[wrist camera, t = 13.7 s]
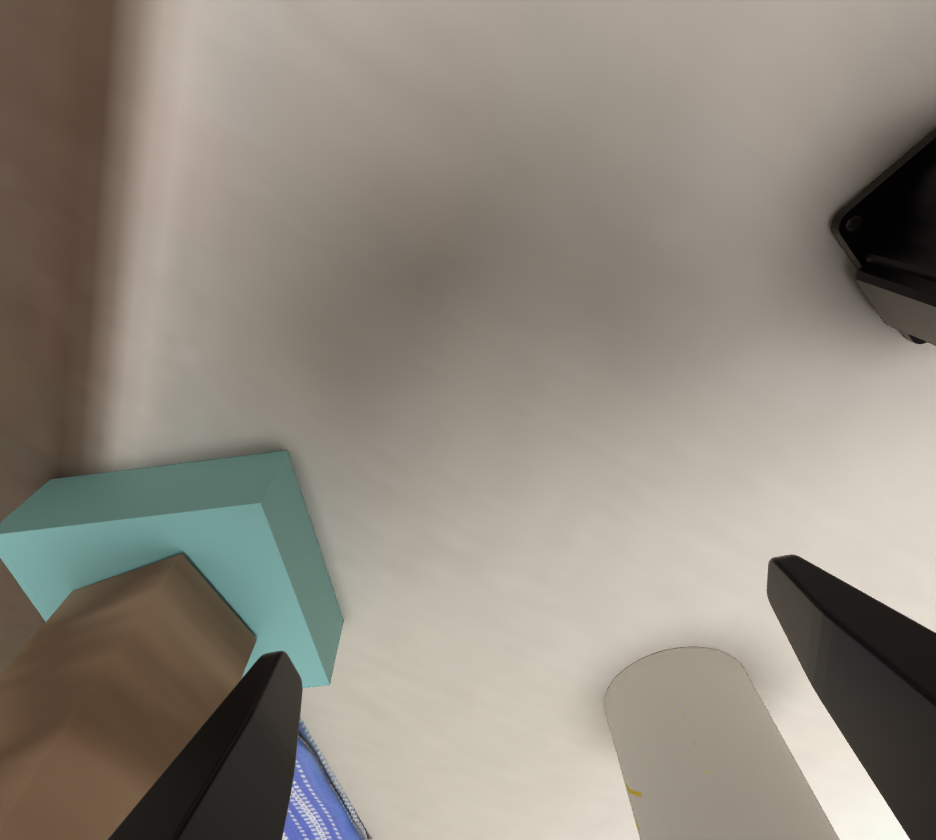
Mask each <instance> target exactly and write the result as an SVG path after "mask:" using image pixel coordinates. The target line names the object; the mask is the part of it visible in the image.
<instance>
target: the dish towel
mask: <svg viewBox="0 0 936 840" xmlns="http://www.w3.org/2000/svg"><path fill="white" fill-rule="evenodd" d="M282 840H368V838H367V834H366V831H365V828H364V826H363V824H362V823H361V821H360V819H359V818H358V816H357V814H356V812H355V810H354V807H353V806H352V803H351V802H350V800H349V798H348V797H347V794H346V793H345V791H344V790H343V788H342V786H341V785H340V783H339V782H338V780H337V778H336V776H335V774H334V773H333V771H332V769H331V768H330V766H329V764H328V762H327V760H326V759H325V757H324V756H323V753H322V752H321V750H320V749H319V747H318V746H317V744H316V742H315V741H314V739H313V738H312V736H311V734H310V733H309V731H308V730H307V728H306V726H305V725H304V723H303V721H302V720H301V718H300V722H299V733H298V743H297V754H296V764H295V772H294V779H293V785H292V791H291V796H290V801H289V806H288V812H287V817H286V822H285V827H284V832H283V837H282Z"/></svg>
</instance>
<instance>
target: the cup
mask: <svg viewBox="0 0 936 840" xmlns="http://www.w3.org/2000/svg"><path fill="white" fill-rule="evenodd" d="M604 708H605V712H606V716H607V720H608V723H609V727H610V731H611V734H612V738H613V742H614V745H615V749H616V753H617V756H618V760H619V764H620V767H621V771H622V774H623V778H624V782H625V785H626V789H627V793H628V796H629V800H630V804H631V807H632V811H633V815H634V818H635V822H636V826H637V829H638V833H639V836H640V840H839V838H838V836H837V834H836V832H835V831H834V829H833V827H832V825H831V823H830V822H829V820H828V818H827V816H826V814H825V813H824V811H823V809H822V807H821V805H820V804H819V802H818V800H817V798H816V796H815V795H814V793H813V791H812V789H811V788H810V786H809V784H808V782H807V780H806V779H805V777H804V775H803V773H802V771H801V770H800V768H799V766H798V764H797V762H796V761H795V759H794V757H793V755H792V753H791V752H790V750H789V748H788V746H787V744H786V743H785V741H784V739H783V737H782V735H781V734H780V732H779V730H778V728H777V726H776V725H775V723H774V721H773V719H772V718H771V716H770V714H769V712H768V710H767V709H766V707H765V705H764V703H763V701H762V700H761V698H760V696H759V694H758V692H757V691H756V689H755V687H754V685H753V683H752V682H751V680H750V678H749V676H748V674H747V673H746V671H745V669H744V667H743V666H742V665H741V664H740V663H739V662H738V661H737V660H736V659H735V658H733V657H732V656H730V655H728V654H726V653H724V652H721V651H718V650H714V649H710V648H702V647H683V648H675V649H669V650H665V651H661V652H658V653H655V654H652V655H649V656H647V657H645V658H642V659H640V660H638V661H636V662H635V663H633V664H631V665H630V666H628V667H627V668H626V669H624V670H623V671H622V672H621V673H620V674H619V675H618V676H617V677H616V678H615V679H614V680H613V681H612V683H611V684H610V686H609V688H608V689H607V692H606V695H605V699H604Z"/></svg>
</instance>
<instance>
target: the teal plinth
mask: <svg viewBox="0 0 936 840" xmlns="http://www.w3.org/2000/svg"><path fill="white" fill-rule="evenodd" d="M179 554H183V555H184V556H185V558H186V559H187V560H188V561H189V562H190V563H191V564H192V566H193V567H194V568H195V569H196V570H197V571H198V572H199V574H200V575H201V576H202V577H203V578H204V579H205V580H206V582H207V583H208V584H209V585H210V586H211V587H212V588H213V590H214V591H215V592H216V593H217V594H218V595H219V596H220V598H221V599H222V600H223V601H224V602H225V603H226V604H227V606H228V607H229V608H230V609H231V610H232V611H233V612H234V614H235V615H236V616H237V617H238V618H239V619H240V620H241V622H242V623H243V624H244V625H245V626H246V627H247V628H248V630H249V631H250V632H251V633H252V634H253V635H254V636H255V638H256V639H257V641H256V643H255V646H254V648H253V651H252V653H251V656H250V658H249V661H248V663H247V666H246V668H245V671H244V673H243V676H244V675H245V674H246V673H247V672H248V670H249V669H250V668H251V667H252V666H253V664H254V663H255V662H256V661H257V660H258V658H259V657H260V656H262V655H263V654H266V653H270V652H276V651H284V652H286V653H287V654H288V656H289V658H290V659H291V661H292V663H293V664H294V666H295V668H296V670H297V671H298V673H299V675H300V677H301V680H302V688H309V687H318V686H327V685H330V682H331V677H332V672H333V668H334V663H335V658H336V654H337V649H338V644H339V640H340V635H341V630H342V626H343V621H344V620H343V617H342V614H341V611H340V608H339V605H338V602H337V599H336V596H335V593H334V590H333V587H332V584H331V580H330V577H329V574H328V571H327V568H326V565H325V562H324V559H323V556H322V553H321V550H320V547H319V544H318V541H317V538H316V535H315V532H314V529H313V526H312V523H311V520H310V517H309V514H308V511H307V508H306V505H305V502H304V499H303V496H302V493H301V490H300V487H299V484H298V481H297V477H296V474H295V471H294V468H293V465H292V462H291V459H290V456H289V453H288V450H286V451H278V452H270V453H262V454H254V455H245V456H237V457H229V458H221V459H213V460H205V461H196V462H188V463H180V464H172V465H164V466H156V467H147V468H139V469H131V470H123V471H115V472H107V473H98V474H90V475H82V476H74V477H66V478H58V479H50V480H49V481H48V482H47V483H46V484H45V485H43V486H42V487H41V488H40V489H39V490H38V491H36V492H35V493H34V494H33V495H32V496H31V497H29V498H28V499H27V500H26V501H25V502H24V503H23V504H21V505H20V506H19V507H18V508H17V509H16V510H14V511H13V512H12V513H11V514H10V515H9V516H7V517H6V518H5V519H4V520H3V521H2V522H1V523H0V558H1V559H2V561H3V562H4V564H5V565H6V566H7V568H8V569H9V571H10V572H11V573H12V575H13V576H14V578H15V579H16V580H17V582H18V583H19V585H20V586H21V587H22V589H23V590H24V592H25V593H26V595H27V596H28V597H29V599H30V600H31V602H32V603H33V604H34V606H35V607H36V609H37V610H38V611H39V613H40V614H41V616H42V617H43V619H44V620H45V621H47V620H48V619H49V618H50V617H51V615H52V614H53V613H54V612H55V611H56V609H57V608H58V607H59V606H60V605H61V604H62V602H63V601H64V600H65V599H66V598H67V596H68V595H69V594H70V593H71V592H72V591H73V590H76V589H79V588H82V587H85V586H88V585H91V584H94V583H97V582H100V581H103V580H106V579H109V578H111V577H114V576H117V575H120V574H123V573H126V572H129V571H132V570H135V569H138V568H141V567H144V566H147V565H150V564H153V563H156V562H158V561H161V560H164V559H167V558H170V557H173V556H176V555H179ZM243 676H242V678H243ZM242 678H241V679H242Z"/></svg>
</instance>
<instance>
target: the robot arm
mask: <svg viewBox="0 0 936 840" xmlns="http://www.w3.org/2000/svg"><path fill="white" fill-rule="evenodd" d="M851 217H854V222H853V224H852V225H851V227H850V228H848V229H847V227H846V225H847V222H848V220H849V219H850V218H851ZM831 229H832V232H833V234H834V235H835V237H836V238H837V240H838V241H839V243H840V244H841V246H842V247H843V249H844V250H845V251H846V253H847V254H848V256H849V257H850V259H851V260H852V262H853V263H854V265H855V266H856V268H857V270H856V271H855V281H856V283H857V284H858V285H859V287H860V288H861V290H862V291H863V293H864V294H865V296H866V297H867V298H868V300H869V301H870V303H871V304H872V306H873V307H874V309H875V310H876V311H877V313H878V314H879V316H880V317H881V319H882V320H883V321H884V323H885V324H887V325H889V326H891V327H893V328H896V329H898V330H900V332H901V333H902V335H903V336H904V337H905V338H906V339H907V340H909V341H911V342H914V343H916V344H923V343H926V342H928V343H931V344H933V345H935V346H936V129H935V130H933V131H932V132H931V133H930V134H929V135H928V136H926V137H925V138H924V139H923V140H922V141H921V142H919V143H918V144H917V145H916V146H915V147H913V148H912V149H911V150H910V151H909V152H908V153H906V154H905V155H904V156H903V157H902V158H901V159H899V160H898V161H897V162H896V163H895V164H894V165H892V166H891V167H890V168H889V169H888V170H887V171H885V172H884V173H883V174H882V175H881V176H880V177H878V178H877V179H876V180H875V181H874V182H873V183H871V184H870V185H869V186H868V187H867V188H866V189H864V190H863V191H862V192H861V193H860V194H859V195H857V196H856V197H855V198H854V199H853V200H852V201H850V202H849V203H848V204H847V205H846V206H845V207H843V208H842V209H841V210H840V211H839V212H838V213H837V214H836V215H835V216H834V219H833V221H832V225H831ZM767 596H768V599H769V602H770V604H771V606H772V608H773V610H774V612H775V614H776V616H777V618H778V620H779V622H780V624H781V626H782V628H783V630H784V632H785V634H786V636H787V638H788V640H789V642H790V644H791V646H792V648H793V650H794V652H795V654H796V656H797V658H798V660H799V662H800V664H801V666H802V668H803V670H804V672H805V673H806V675H807V677H808V679H809V681H810V683H811V685H812V687H813V688H814V690H815V692H816V693H817V695H818V696H819V698H820V700H821V701H822V703H823V705H824V706H825V708H826V709H827V711H828V712H829V714H830V715H831V717H832V719H833V720H834V722H835V723H836V725H837V726H838V728H839V729H840V731H841V733H842V734H843V736H844V737H845V739H846V740H847V742H848V743H849V745H850V747H851V748H852V750H853V751H854V753H855V754H856V756H857V757H858V759H859V761H860V762H861V764H862V765H863V767H864V768H865V770H866V771H867V773H868V775H869V776H870V778H871V779H872V781H873V782H874V784H875V785H876V787H877V789H878V790H879V792H880V793H881V795H882V796H883V798H884V799H885V801H886V803H887V804H888V806H889V807H890V809H891V810H892V812H893V813H894V815H895V817H896V818H897V820H898V821H899V823H900V824H901V826H902V828H903V829H904V831H905V832H906V834H907V835H908V837H909V838H910V840H936V633H935V632H933V631H931V630H930V629H928V628H926V627H924V626H922V625H921V624H919V623H917V622H915V621H913V620H912V619H910V618H908V617H906V616H905V615H903V614H901V613H899V612H897V611H896V610H894V609H892V608H890V607H888V606H887V605H885V604H883V603H881V602H880V601H878V600H876V599H874V598H872V597H871V596H869V595H867V594H865V593H863V592H862V591H860V590H858V589H856V588H855V587H853V586H851V585H849V584H847V583H846V582H844V581H842V580H840V579H838V578H837V577H835V576H833V575H831V574H830V573H828V572H826V571H824V570H822V569H821V568H819V567H817V566H815V565H813V564H812V563H810V562H808V561H806V560H804V559H803V558H801V557H799V556H796V555H785V556H780V557H774V558H772V559H771V560H770V561H769V564H768V578H767ZM301 700H302V680H301V677H300V675H299V673H298V671H297V670H296V668H295V666H294V664H293V663H292V661H291V659H290V658H289V656H288V654H287V653H286V652H284V651H276V652H270V653H266V654H263V655H262V656H260V657H259V658H258V660H257V661H256V662H255V663H254V664H253V666H252V667H251V668H250V669H249V670H248V672H247V673H246V674H245V675H244V676H243V678H242V679H241V680H240V681H239V682H238V684H237V685H236V686H235V687H234V688H233V690H232V691H231V692H230V693H229V694H228V696H227V697H226V698H225V699H224V700H223V702H222V703H221V704H220V705H219V706H218V707H217V709H216V710H215V711H214V712H213V713H212V715H211V716H210V717H209V718H208V719H207V721H206V722H205V723H204V724H203V725H202V727H201V728H200V729H199V730H198V731H197V733H196V734H195V735H194V736H193V737H192V739H191V740H190V741H189V742H188V743H187V745H186V746H185V747H184V748H183V749H182V751H181V752H180V753H179V754H178V755H177V757H176V758H175V759H174V760H173V761H172V763H171V764H170V765H169V766H168V767H167V769H166V770H165V771H164V772H163V773H162V775H161V776H160V777H159V778H158V779H157V781H156V782H155V783H154V784H153V785H152V787H151V788H150V789H149V790H148V791H147V793H146V794H145V795H144V796H143V797H142V799H141V800H140V801H139V802H138V803H137V805H136V806H135V807H134V808H133V809H132V811H131V812H130V813H129V814H128V815H127V817H126V818H125V819H124V820H123V821H122V823H121V824H120V825H119V826H118V827H117V829H116V830H115V831H114V832H113V833H112V834H111V836H110V837H109V838H108V839H107V840H282V837H283V832H284V827H285V822H286V817H287V812H288V806H289V801H290V796H291V791H292V785H293V779H294V772H295V764H296V754H297V743H298V733H299V722H300V711H301Z"/></svg>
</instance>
